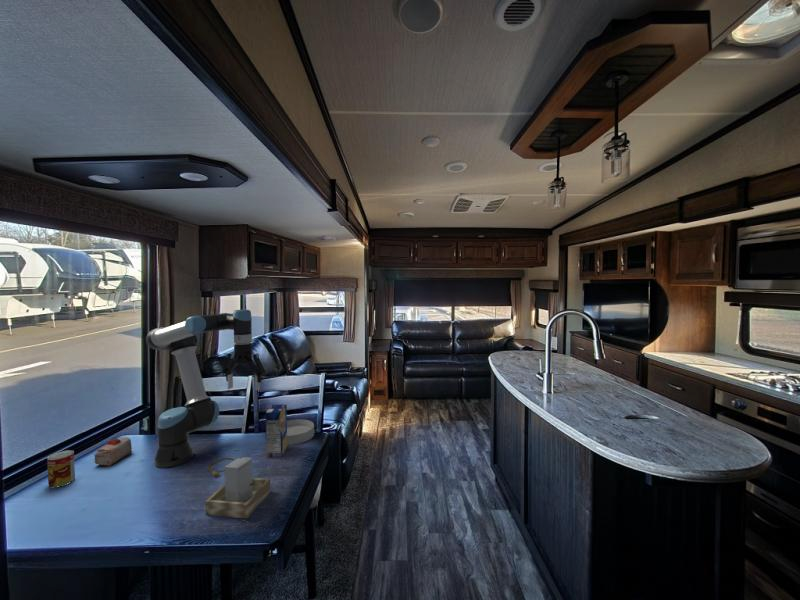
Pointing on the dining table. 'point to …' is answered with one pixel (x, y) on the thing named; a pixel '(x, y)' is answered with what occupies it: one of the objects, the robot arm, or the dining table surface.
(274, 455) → the beverage box
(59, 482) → the canned food
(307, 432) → the dish
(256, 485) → the birch box
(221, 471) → the extension cord
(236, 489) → the skincare box
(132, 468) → the dining table surface
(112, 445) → the food item
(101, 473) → the dining table surface
